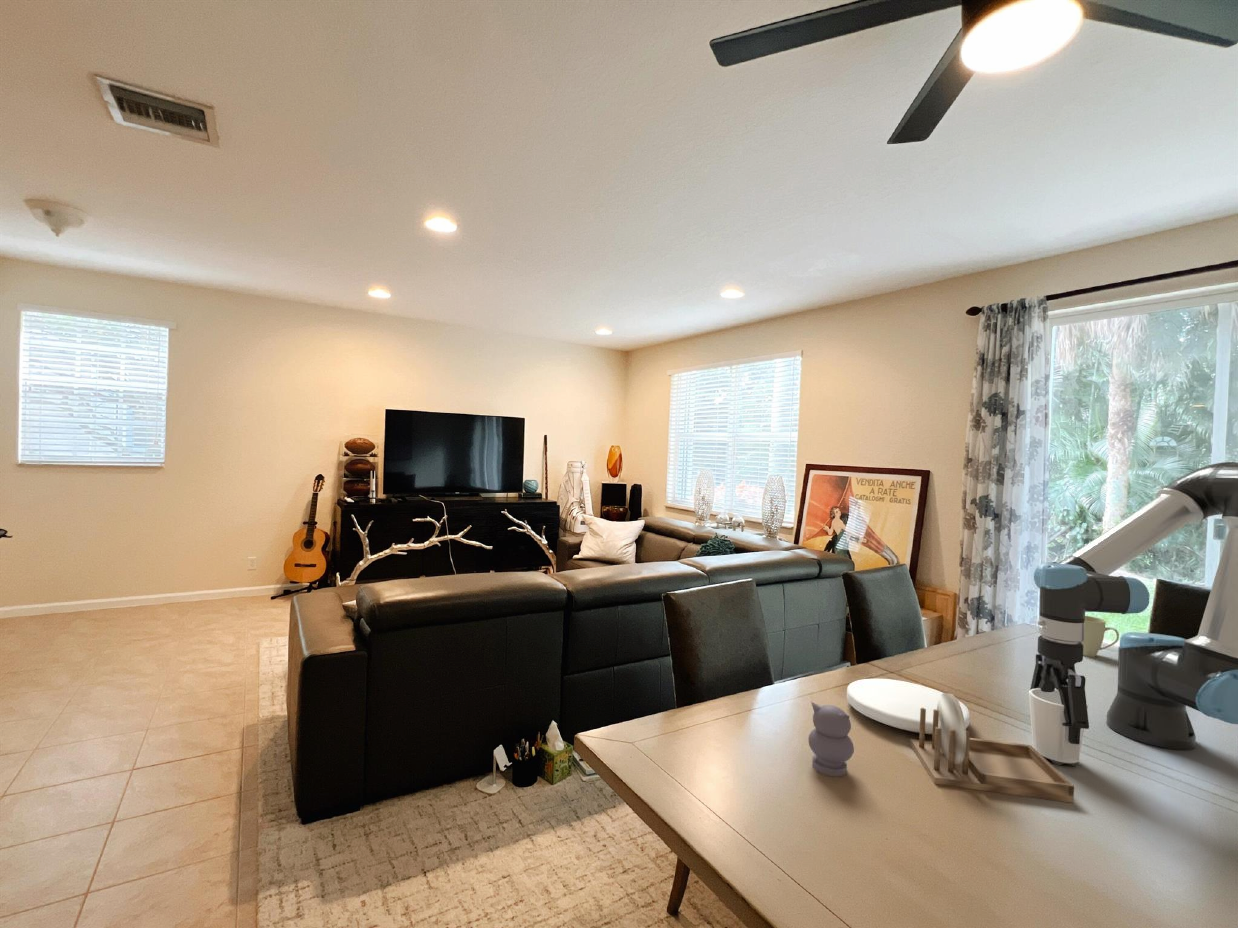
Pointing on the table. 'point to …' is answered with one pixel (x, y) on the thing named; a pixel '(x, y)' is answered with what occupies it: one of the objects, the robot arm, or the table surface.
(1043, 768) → the rack
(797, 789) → the table surface
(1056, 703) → the cup
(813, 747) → the cat figurine
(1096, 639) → the mug
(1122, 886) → the table surface
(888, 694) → the plate
